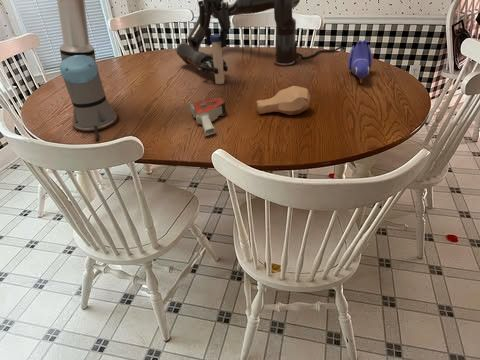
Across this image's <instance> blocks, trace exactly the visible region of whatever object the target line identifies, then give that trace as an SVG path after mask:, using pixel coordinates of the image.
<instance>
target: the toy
mask: <svg viewBox="0 0 480 360" xmlns="http://www.w3.org/2000/svg"><path fill="white" fill-rule="evenodd" d="M367 43H369V40H367V39H364V40H360V39H359V40H357V41H356V45H352V46H351V48H350V51H349V54H348V57H347V68H348V70H350V72H351V73H352V74H353V75H354V76H356V78H358V79H359V83H360V84H362V82H363V79H365V78H366V77H367V76H368V75H369V74H370V73H371V68H372V65H373V53H372V48H371V46H370V44H367Z"/></svg>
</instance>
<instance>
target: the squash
mask: <svg viewBox="0 0 480 360" xmlns="http://www.w3.org/2000/svg"><path fill="white" fill-rule="evenodd" d="M311 98H312V97H311V95H310V90H309V89H307V88H306V87H302V86H298V85H292V86H289V87H287V88H283V89H280V90H279V91H277V92H276V94H275V95H274V96H272V97H271V98H265V99H257V100H256V102H255V103H256V107H257V109H256V110H257V113H258V114H259V115H263V114H266V113H273V112H275V113H282V114H284V115H287V116H295V115H300V114H301V113H303V112H305V111H306V110H308V109H309V107H310V102H311Z"/></svg>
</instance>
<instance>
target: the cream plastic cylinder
mask: <svg viewBox="0 0 480 360" xmlns="http://www.w3.org/2000/svg"><path fill="white" fill-rule="evenodd" d="M211 52H212V57H213V64H214V67H215V68H217V69H218V74H215V73H213V74H214V82H215V84H216V85H223V84H225V71H224V69H223V60H224V59H223V48H221V41H220V42H212V45H211Z"/></svg>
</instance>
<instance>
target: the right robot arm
mask: <svg viewBox="0 0 480 360" xmlns="http://www.w3.org/2000/svg"><path fill="white" fill-rule="evenodd" d="M222 1H223V2H225V0H222ZM300 2H301V0H235V1H234V2H233V3H231V4H228V12H229V17H233V16H240V15H251V14H258V13H262V12H266V11H269V10H273V17H274V18H273V19H274V22H275V65H277V66H282V67H287V66H293V65H294V64H295V63H296V62H297V59H299V58H301V60H302V59H303V60H306V59H307V60H308V59H311V58H312V57H315V56H316V55H318V54H320V53H332V52H336V51H338V50H340V49H341V50H346V47H344V46H338V47H336V48H334V49H321V50H317V51H316V52H315V53H312V54H310V55H307V56H303V54H301V53H300V52H298V51H297V48H298V47H297V46H298V45H297V44H298V43H297V41H296V31H297V30H296V29H297V21H296V18H294V17H293V9H295V8H296V7H297V6H298V5H299V3H300ZM221 9H222V8H221ZM205 10H206V5H205ZM218 11H219V10H218ZM205 14H206V12H205ZM211 17H212V18H213V19H216V20H218V19H217V16H216V14H215V12H214V11H213V12H212V14H211ZM205 38H206V37H205V32H204V28H203V27H200V16H199V15H198V17H197V19H196V22H195V24H194V26H193V28H192V29H191V31H190V33H189V34H188V35H187V38H186V40H187V42H181V43H179V44H178V45H177V46H176V49H175V52H176V54H177V56H178V57H179V58H180V59H181V61H183V63H185V64H186V65H192V66H194V67H195V68H196V69H197V72H200V73H203V74H209V73H211V74H214V73H215V74H218V69H217V68H215V67H214V64H213V55H210V54H208V53H205V52H203V51H200V46H201V44H202V43H203V41H204V40H205ZM223 69H224V72H228V69H229V68H228V66H227V62H226V61H225V60H224V59H223ZM215 74H214V75H215Z"/></svg>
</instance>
